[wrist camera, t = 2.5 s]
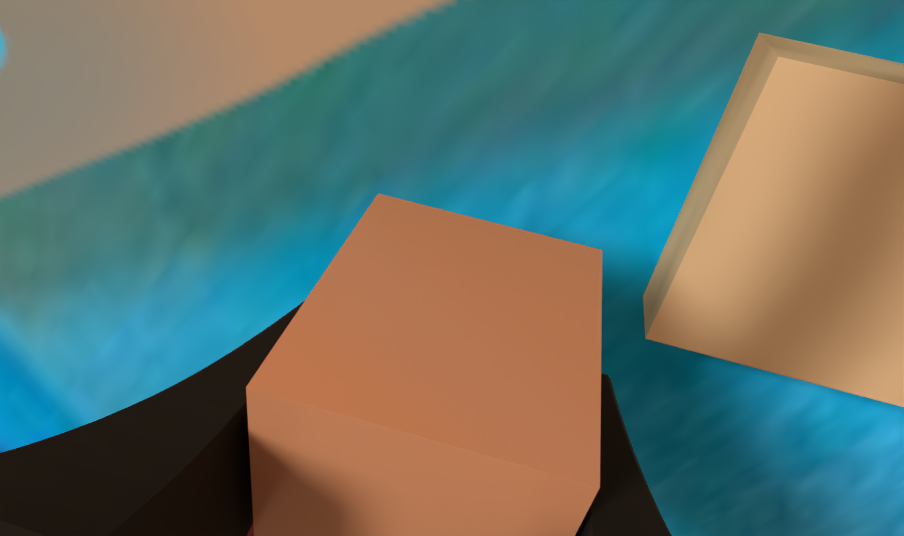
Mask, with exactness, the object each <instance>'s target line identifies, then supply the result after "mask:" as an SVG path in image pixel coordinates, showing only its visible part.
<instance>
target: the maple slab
mask: <svg viewBox="0 0 904 536" xmlns="http://www.w3.org/2000/svg"><path fill="white" fill-rule="evenodd" d="M643 306H644V323H645V339H649V340H652V341H656V342H660V343H664V344H667V345H671V346H675V347H679V348H683V349H686V350H690V351H694V352H698V353H701V354H705V355H709V356H713V357H716V358H720V359H724V360H728V361H731V362H735V363H739V364H743V365H746V366H750V367H754V368H758V369H762V370H765V371H769V372H773V373H777V374H780V375H784V376H788V377H792V378H795V379H799V380H803V381H807V382H810V383H814V384H818V385H822V386H826V387H829V388H833V389H837V390H841V391H844V392H848V393H852V394H856V395H859V396H863V397H867V398H871V399H874V400H878V401H882V402H886V403H889V404H893V405H897V406H901V407H904V64H902V63H897V62H893V61H888V60H884V59H879V58H874V57H870V56H865V55H860V54H856V53H851V52H846V51H842V50H837V49H833V48H828V47H823V46H819V45H814V44H809V43H805V42H800V41H796V40H791V39H786V38H782V37H777V36H772V35H768V34H763V33H759V34H758V37H757V39H756V41H755V43H754V46H753V48H752V50H751V52H750V55H749V57H748V59H747V62H746V64H745V66H744V68H743V71H742V73H741V75H740V77H739V80H738V82H737V84H736V86H735V89H734V91H733V93H732V96H731V98H730V100H729V102H728V105H727V107H726V109H725V111H724V114H723V116H722V118H721V120H720V123H719V125H718V127H717V129H716V132H715V134H714V136H713V139H712V141H711V143H710V145H709V148H708V150H707V152H706V154H705V157H704V159H703V161H702V163H701V166H700V168H699V170H698V173H697V175H696V177H695V179H694V182H693V184H692V186H691V188H690V191H689V193H688V195H687V197H686V200H685V202H684V204H683V206H682V209H681V211H680V213H679V216H678V218H677V220H676V222H675V225H674V227H673V229H672V231H671V234H670V236H669V238H668V240H667V243H666V245H665V247H664V250H663V252H662V254H661V256H660V259H659V261H658V263H657V265H656V268H655V270H654V272H653V274H652V277H651V279H650V281H649V283H648V286H647V288H646V290H645V293H644V295H643Z"/></svg>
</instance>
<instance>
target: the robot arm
mask: <svg viewBox="0 0 904 536" xmlns="http://www.w3.org/2000/svg"><path fill="white" fill-rule="evenodd" d="M303 303H304V302H302V303H301V304H300V305H298V306H297V307H296V308H294V309H293V310H291V311H290V312H289V313H287V314H286V315H285V316H283V317H282V318H281V319H279V320H278V321H276V322H275V323H274V324H272V325H271V326H269V327H268V328H266V329H265V330H264V331H262V332H261V333H259V334H258V335H256V336H255V337H253V338H252V339H250V340H249V341H247V342H246V343H244V344H243V345H241V346H240V347H238V348H237V349H235V350H234V351H232V352H230V353H229V354H227V355H225V356H224V357H222V358H221V359H219V360H217V361H216V362H214V363H212V364H211V365H209V366H207V367H206V368H204V369H202V370H201V371H199V372H197V373H195V374H194V375H192V376H190V377H188V378H186V379H185V380H183V381H181V382H179V383H177V384H175V385H173V386H171V387H169V388H167V389H165V390H163V391H161V392H159V393H158V394H156V395H153V396H151V397H149V398H147V399H145V400H143V401H141V402H138V403H136V404H134V405H132V406H130V407H127V408H125V409H123V410H120V411H118V412H116V413H113V414H111V415H109V416H106V417H104V418H102V419H99V420H97V421H94V422H92V423H89V424H86V425H84V426H81V427H78V428H76V429H73V430H70V431H67V432H65V433H62V434H59V435H56V436H53V437H50V438H47V439H44V440H41V441H38V442H35V443H32V444H29V445H26V446H23V447H20V448H16V449H13V450H9V451H6V452H2V453H0V536H247V534H248V532H249V530H250V528H251V526H252V524H253V506H252V487H251V469H250V451H249V433H248V415H247V396H246V386H247V385H248V383H249V382H250V381H251V379H252V378H253V376H254V375H255V373H256V372H257V370H258V369H259V367H260V366H261V364H262V363H263V361H264V360H265V359H266V357H267V356H268V354H269V353H270V351H271V350H272V348H273V347H274V345H275V344H276V342H277V341H278V339H279V338H280V337H281V335H282V334H283V332H284V331H285V329H286V328H287V326H288V325H289V323H290V322H291V320H292V319H293V318H294V316H295V315H296V313H297V312H298V310H299V309H300V307H301V306H302V304H303ZM575 536H671V534H670V532H669V530H668V528H667V526H666V524H665V522H664V520H663V518H662V516H661V514H660V512H659V510H658V508H657V505H656V503H655V501H654V499H653V497H652V494H651V492H650V490H649V488H648V485H647V483H646V481H645V478H644V476H643V474H642V471H641V469H640V466H639V463H638V461H637V458H636V456H635V453H634V451H633V448H632V446H631V443H630V440H629V437H628V434H627V432H626V429H625V426H624V423H623V420H622V417H621V414H620V410H619V407H618V404H617V401H616V397H615V394H614V390H613V386H612V382H611V380H610V378H609V376H608V375H606V374H602V373H601V435H600V488H599V490H598V492H597V494H596V496H595V498H594V500H593V502H592V504H591V506H590V508H589V510H588V511H587V513H586V515H585V517H584V519H583V521H582V523H581V525H580V527H579V529H578V531H577V533H576V535H575Z"/></svg>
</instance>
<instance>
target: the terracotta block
mask: <svg viewBox="0 0 904 536" xmlns="http://www.w3.org/2000/svg"><path fill="white" fill-rule="evenodd" d="M601 335H602V250H600V249H596V248H592V247H588V246H584V245H580V244H576V243H572V242H568V241H564V240H560V239H556V238H553V237H549V236H545V235H541V234H537V233H533V232H529V231H525V230H521V229H517V228H513V227H509V226H505V225H501V224H497V223H493V222H489V221H485V220H481V219H477V218H473V217H469V216H465V215H461V214H457V213H453V212H449V211H445V210H441V209H437V208H433V207H430V206H426V205H422V204H418V203H414V202H410V201H406V200H402V199H398V198H394V197H390V196H386V195H382V194H377V196H376V197H375V199H374V200H373V202H372V203H371V205H370V206H369V208H368V209H367V211H366V212H365V214H364V215H363V216H362V218H361V219H360V221H359V222H358V224H357V225H356V227H355V228H354V230H353V231H352V233H351V234H350V235H349V237H348V238H347V240H346V241H345V243H344V244H343V246H342V247H341V249H340V250H339V252H338V253H337V255H336V256H335V257H334V259H333V260H332V262H331V263H330V265H329V266H328V268H327V269H326V271H325V272H324V274H323V275H322V276H321V278H320V279H319V281H318V282H317V284H316V285H315V287H314V288H313V290H312V291H311V293H310V294H309V296H308V297H307V298H306V300H305V301H304V303H303V304H302V306H301V307H300V309H299V310H298V312H297V313H296V315H295V316H294V318H293V319H292V320H291V322H290V323H289V325H288V326H287V328H286V329H285V331H284V332H283V334H282V335H281V337H280V338H279V339H278V341H277V342H276V344H275V345H274V347H273V348H272V350H271V351H270V353H269V354H268V356H267V357H266V359H265V360H264V361H263V363H262V364H261V366H260V367H259V369H258V370H257V372H256V373H255V375H254V376H253V378H252V379H251V381H250V382H249V383H248V385H247V386H246V396H247V415H248V433H249V451H250V469H251V487H252V506H253V524H254V536H575V535H576V533H577V531H578V529H579V527H580V525H581V523H582V521H583V519H584V517H585V515H586V513H587V511H588V510H589V508H590V506H591V504H592V502H593V500H594V498H595V496H596V494H597V492H598V490H599V488H600V435H601Z"/></svg>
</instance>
